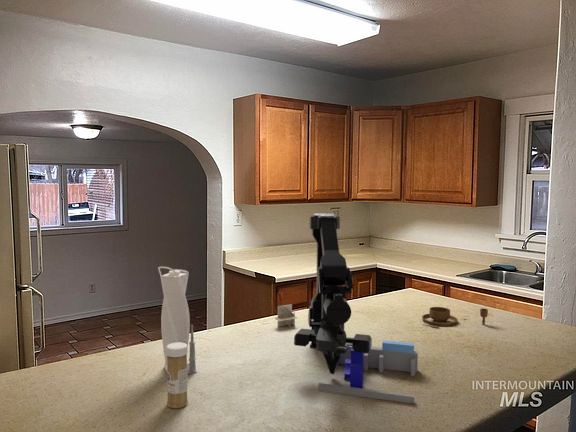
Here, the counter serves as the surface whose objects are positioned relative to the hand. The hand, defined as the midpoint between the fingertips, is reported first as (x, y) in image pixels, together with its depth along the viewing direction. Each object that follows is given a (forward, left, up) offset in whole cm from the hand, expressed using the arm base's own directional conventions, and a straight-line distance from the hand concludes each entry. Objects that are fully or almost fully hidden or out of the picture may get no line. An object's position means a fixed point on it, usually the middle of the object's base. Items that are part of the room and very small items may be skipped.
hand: (332, 373), depth 121 cm
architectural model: (-24, +38, -2) cm, 44 cm away
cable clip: (+5, 0, -1) cm, 5 cm away
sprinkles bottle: (-30, -24, -1) cm, 39 cm away
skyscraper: (-40, -7, -2) cm, 40 cm away
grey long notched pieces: (+9, +1, -1) cm, 9 cm away
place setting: (+30, +57, -2) cm, 65 cm away
